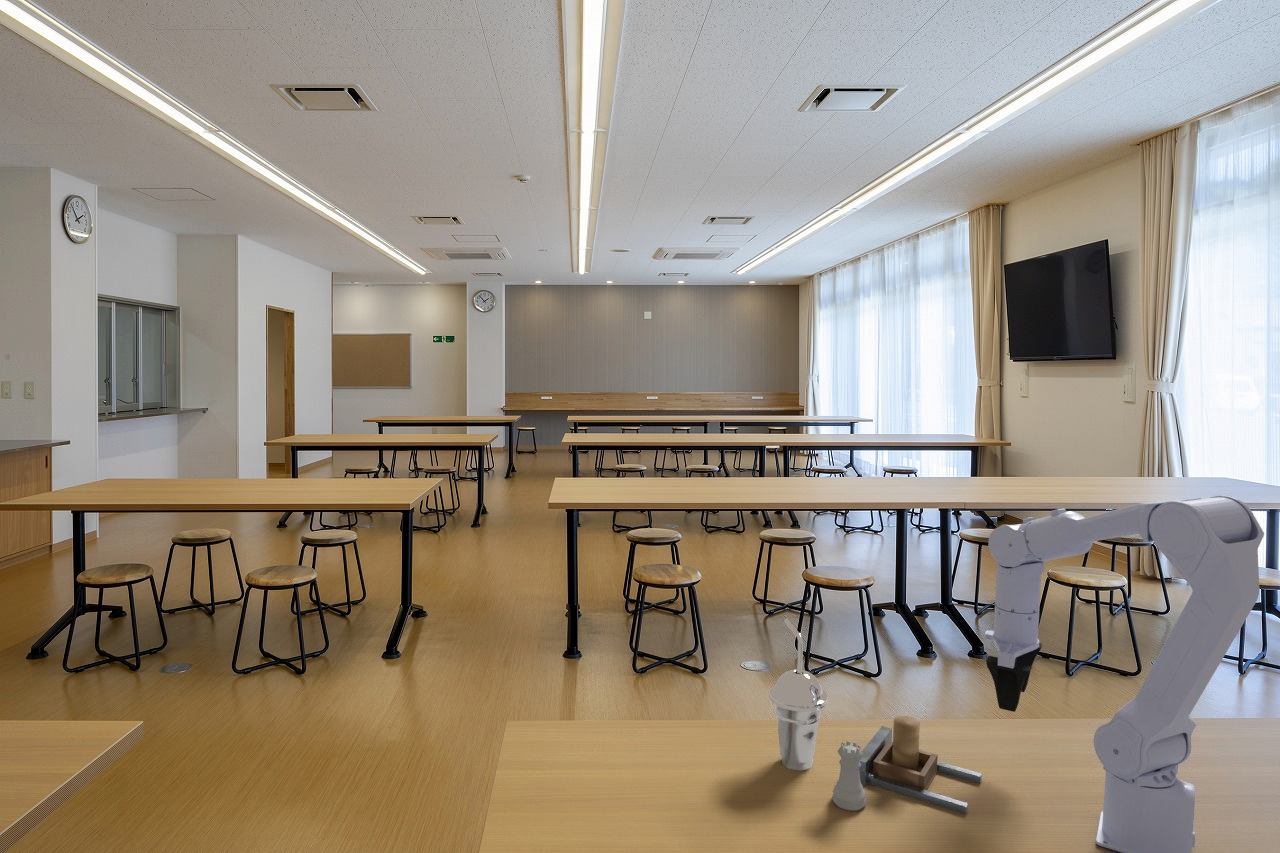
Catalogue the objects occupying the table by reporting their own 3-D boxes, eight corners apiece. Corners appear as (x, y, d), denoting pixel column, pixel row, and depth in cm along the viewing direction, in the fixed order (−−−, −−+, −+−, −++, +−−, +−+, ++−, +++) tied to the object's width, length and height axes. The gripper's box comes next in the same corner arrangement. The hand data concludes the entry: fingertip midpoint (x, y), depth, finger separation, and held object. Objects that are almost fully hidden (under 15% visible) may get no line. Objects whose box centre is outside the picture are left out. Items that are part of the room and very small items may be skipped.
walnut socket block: (936, 772, 113) (937, 754, 113) (923, 794, 107) (924, 776, 107) (888, 757, 117) (888, 741, 117) (872, 779, 111) (873, 761, 111)
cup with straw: (765, 773, 113) (767, 637, 111) (770, 743, 121) (772, 616, 120) (826, 781, 111) (830, 643, 109) (826, 749, 119) (830, 621, 117)
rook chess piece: (867, 814, 103) (869, 756, 102) (832, 810, 104) (833, 752, 103) (865, 795, 107) (866, 739, 106) (831, 791, 108) (832, 735, 107)
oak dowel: (920, 770, 113) (922, 719, 112) (914, 781, 110) (916, 729, 109) (895, 763, 114) (897, 713, 114) (889, 774, 112) (890, 723, 111)
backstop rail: (983, 777, 112) (984, 753, 112) (964, 818, 102) (965, 792, 102) (881, 747, 120) (882, 725, 120) (854, 783, 110) (855, 759, 110)
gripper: (996, 589, 120) (992, 675, 122) (975, 616, 109) (971, 711, 110) (1048, 598, 117) (1043, 686, 118) (1032, 626, 105) (1027, 724, 106)
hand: (1012, 699), depth 114 cm, fingers open, 7 cm apart
